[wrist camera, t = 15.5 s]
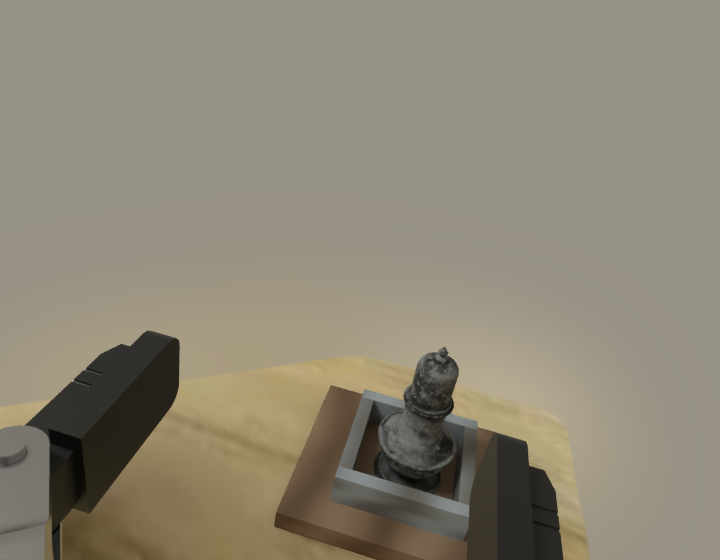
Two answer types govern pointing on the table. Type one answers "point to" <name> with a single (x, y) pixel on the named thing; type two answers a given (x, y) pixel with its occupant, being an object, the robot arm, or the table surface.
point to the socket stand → (378, 486)
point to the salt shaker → (420, 427)
